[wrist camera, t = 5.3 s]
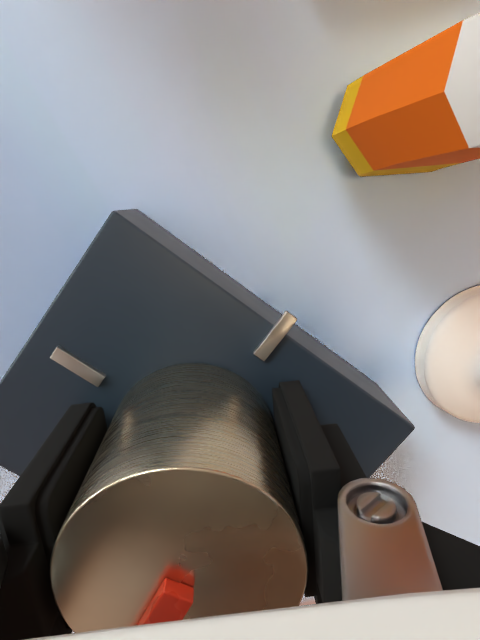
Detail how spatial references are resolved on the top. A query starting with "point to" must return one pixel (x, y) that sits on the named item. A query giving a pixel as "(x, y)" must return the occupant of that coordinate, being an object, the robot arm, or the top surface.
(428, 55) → the candy corn
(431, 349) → the chess piece
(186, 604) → the dial knob
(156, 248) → the control panel
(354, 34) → the top surface
